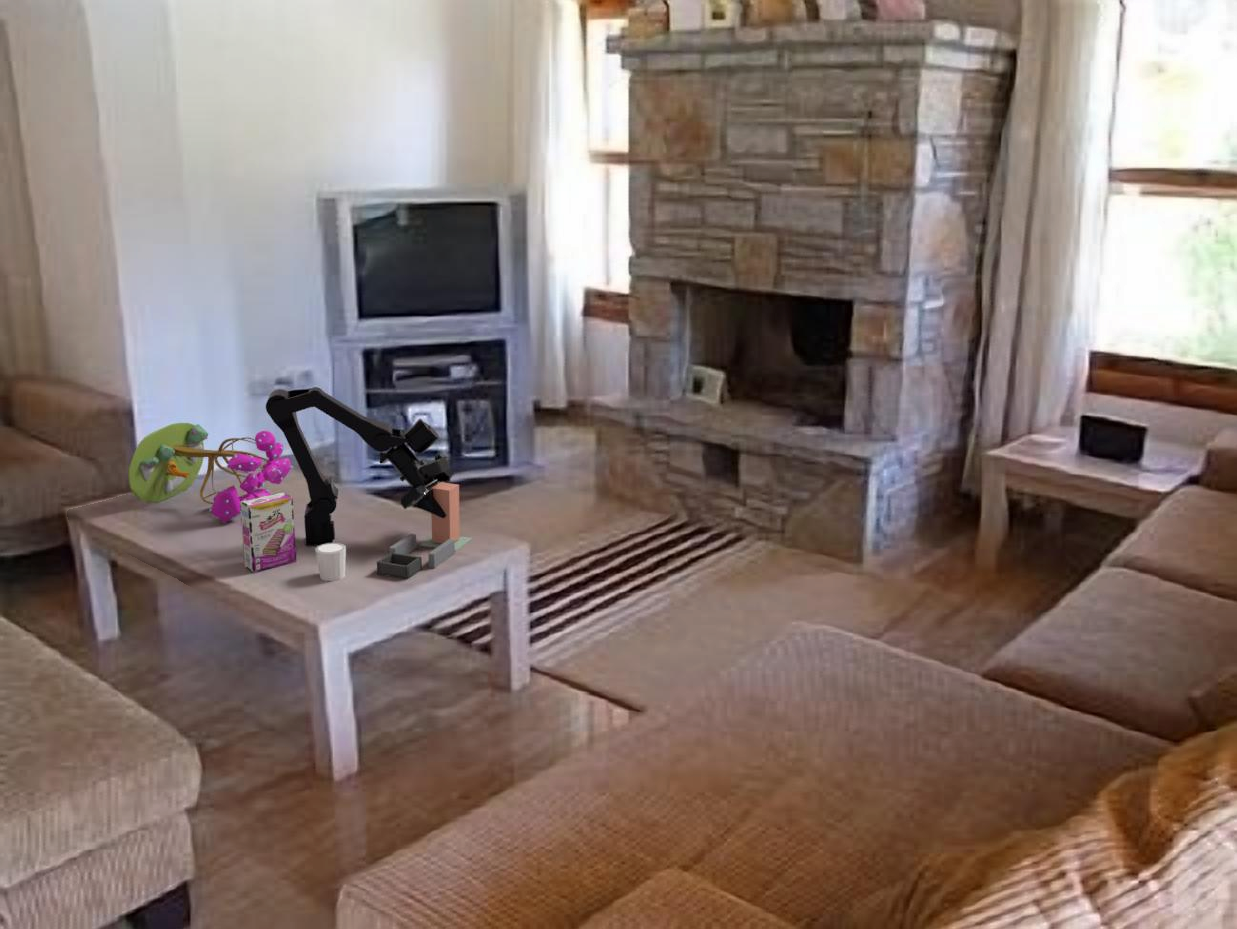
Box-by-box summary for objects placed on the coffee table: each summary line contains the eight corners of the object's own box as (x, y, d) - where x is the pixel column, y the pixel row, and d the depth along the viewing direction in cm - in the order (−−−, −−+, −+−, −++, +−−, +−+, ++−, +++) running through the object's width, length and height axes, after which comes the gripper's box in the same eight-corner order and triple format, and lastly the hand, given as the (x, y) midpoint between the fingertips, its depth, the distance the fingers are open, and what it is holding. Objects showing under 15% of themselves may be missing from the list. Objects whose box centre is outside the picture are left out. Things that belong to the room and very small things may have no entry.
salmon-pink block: (432, 541, 286) (430, 487, 282) (441, 535, 290) (440, 482, 286) (450, 544, 284) (449, 490, 280) (459, 538, 289) (459, 484, 285)
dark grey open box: (377, 574, 268) (376, 562, 267) (392, 564, 273) (391, 552, 273) (407, 579, 265) (407, 566, 264) (422, 569, 271) (421, 557, 270)
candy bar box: (254, 574, 267) (248, 506, 262) (244, 567, 271) (238, 501, 266) (298, 561, 275) (293, 496, 270) (288, 556, 278) (282, 491, 273)
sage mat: (419, 545, 285) (419, 545, 285) (437, 533, 293) (437, 533, 293) (455, 551, 282) (455, 550, 282) (472, 538, 290) (472, 538, 290)
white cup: (319, 570, 269) (317, 542, 267) (349, 570, 270) (347, 541, 268) (314, 582, 263) (312, 553, 261) (345, 581, 263) (343, 552, 261)
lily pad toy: (195, 383, 317) (300, 415, 306) (212, 469, 333) (312, 502, 322) (113, 436, 295) (223, 472, 283) (136, 526, 311) (241, 563, 299)
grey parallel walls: (389, 561, 275) (389, 547, 274) (411, 547, 284) (410, 533, 283) (434, 568, 271) (434, 554, 270) (454, 553, 280) (454, 540, 279)
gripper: (409, 456, 273) (452, 506, 273) (446, 436, 290) (487, 483, 290) (381, 484, 278) (423, 533, 278) (420, 462, 295) (460, 509, 294)
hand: (450, 513), depth 285 cm, fingers closed on salmon-pink block, 5 cm apart
